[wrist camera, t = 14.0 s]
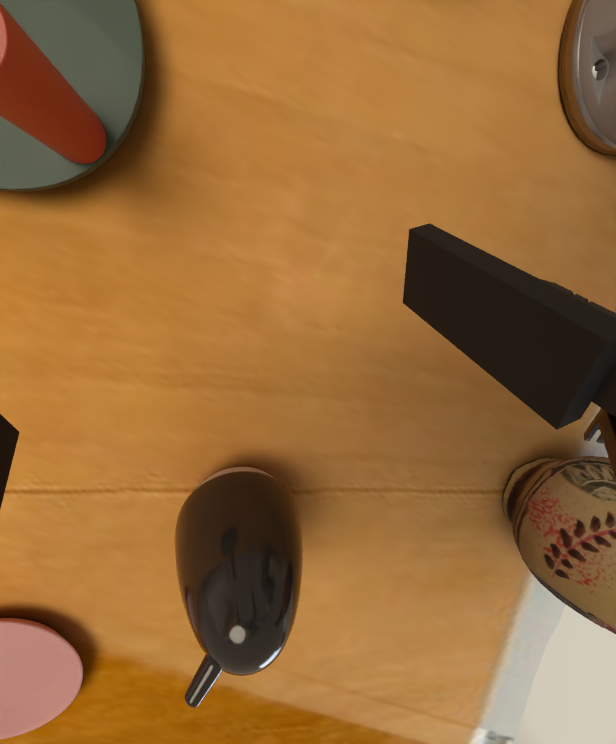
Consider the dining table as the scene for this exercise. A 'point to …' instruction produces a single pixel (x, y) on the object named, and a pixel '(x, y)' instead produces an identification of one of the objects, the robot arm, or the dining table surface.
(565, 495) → the ceramic jug
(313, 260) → the dining table surface
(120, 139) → the drying rack
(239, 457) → the dining table surface
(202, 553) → the pump dispenser
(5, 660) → the plate
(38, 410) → the dining table surface
